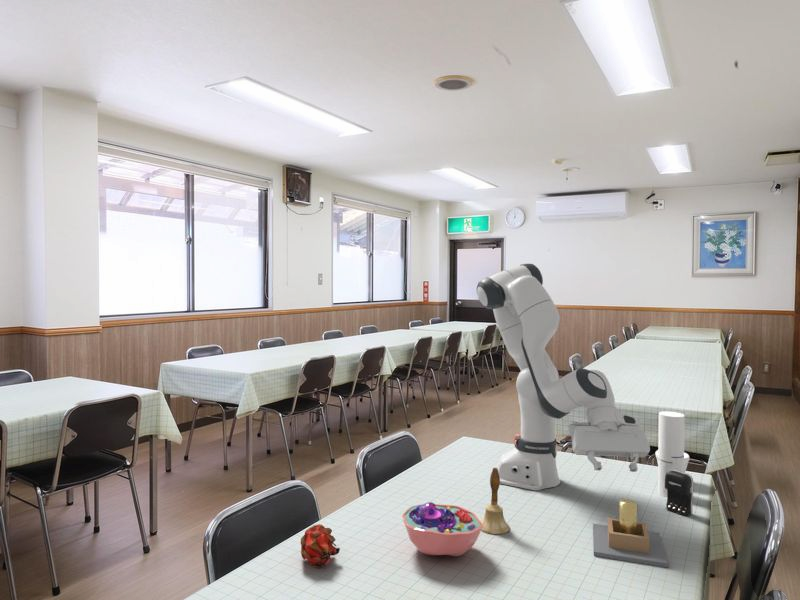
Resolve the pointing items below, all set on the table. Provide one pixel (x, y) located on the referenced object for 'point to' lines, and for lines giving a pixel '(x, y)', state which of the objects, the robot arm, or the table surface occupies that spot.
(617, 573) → the table surface
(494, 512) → the hand bell
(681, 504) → the battery charger
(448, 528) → the cell model
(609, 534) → the plate
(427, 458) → the table surface
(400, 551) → the table surface
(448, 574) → the table surface
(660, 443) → the cylindrical container
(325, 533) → the dragon fruit
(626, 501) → the brass tube
